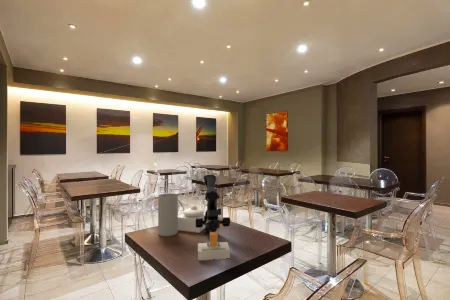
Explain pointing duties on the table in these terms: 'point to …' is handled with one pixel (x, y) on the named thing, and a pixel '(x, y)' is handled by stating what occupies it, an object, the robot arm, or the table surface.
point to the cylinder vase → (167, 214)
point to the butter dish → (190, 219)
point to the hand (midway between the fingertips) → (213, 237)
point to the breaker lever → (213, 238)
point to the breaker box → (213, 251)
